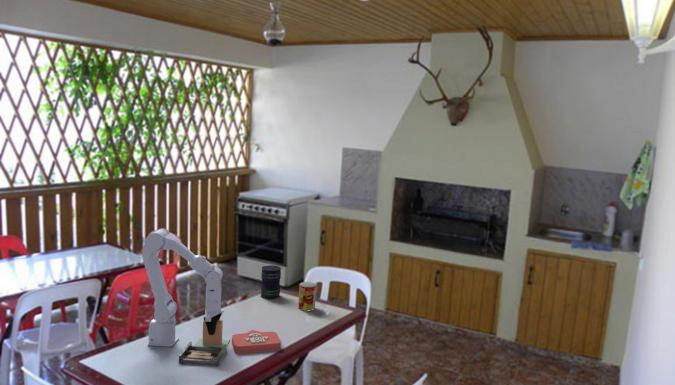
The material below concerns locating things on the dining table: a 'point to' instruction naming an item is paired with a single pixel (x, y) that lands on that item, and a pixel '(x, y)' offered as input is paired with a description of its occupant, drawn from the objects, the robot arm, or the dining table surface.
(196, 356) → the block
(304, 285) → the canned food
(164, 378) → the dining table surface
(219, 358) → the rack
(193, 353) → the offcut short
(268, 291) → the storage jar
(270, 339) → the red flat case
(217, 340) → the tall orange plank
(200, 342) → the mat
